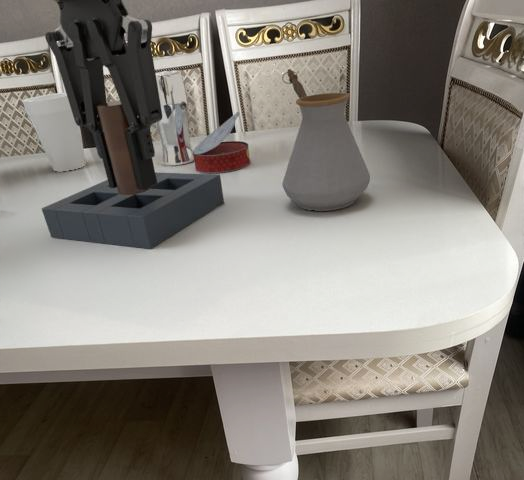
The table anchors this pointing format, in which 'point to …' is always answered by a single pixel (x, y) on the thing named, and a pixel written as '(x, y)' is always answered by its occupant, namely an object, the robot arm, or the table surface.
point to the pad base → (135, 210)
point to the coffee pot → (324, 154)
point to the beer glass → (174, 119)
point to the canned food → (221, 151)
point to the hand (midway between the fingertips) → (133, 185)
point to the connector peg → (118, 146)
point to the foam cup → (57, 130)
